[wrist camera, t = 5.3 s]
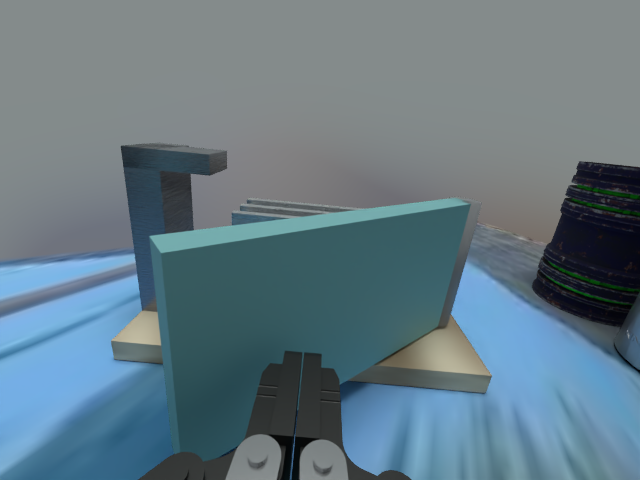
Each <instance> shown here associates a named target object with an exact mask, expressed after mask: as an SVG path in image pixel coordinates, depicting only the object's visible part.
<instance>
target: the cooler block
mask: <svg viewBox="0 0 640 480" xmlns="http://www.w3.org/2000/svg"><path fill="white" fill-rule="evenodd" d="M121 151H122V159H123V167H124V174H125V182H126V190H127V198H128V205H129V213H130V221H131V229H132V236H133V244H134V252H135V260H136V267H137V275H138V283H139V290H140V298H141V306H142V311H152V312H157V303H156V294H155V285H154V275H153V266H152V257H151V248H150V239H149V236H153V235H161V234H169V233H177V232H185V231H193V230H194V229H193V211H192V193H191V175H190V174H200V175H212V174H215V173H217V172H220V171H222V170H225V169H227V151H224V150H214V149H204V148H203V149H202V148H194V147H189V146H186V145H176V144H165V143H150V144H138V145H125V146H121ZM353 210H361V209H359V208H350V207H340V206H339V207H338V206H329V205H319V204H308V203H298V202H288V201H276V200H266V199H257V198H248V199H247V204H241V205H240V211H237V210H235V211H233V212H232V226H233V225H241V224H249V223H257V222H265V221H273V220H281V219H289V218H297V217H305V216H313V215H321V214H329V213H337V212H345V211H353Z"/></svg>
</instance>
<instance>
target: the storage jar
mask: <svg viewBox="0 0 640 480" xmlns="http://www.w3.org/2000/svg"><path fill="white" fill-rule="evenodd" d="M577 170H578V171H577V173H576V175H574V176H573V179H572V183H575V184H578V185H570V186H569V187H568V189H567V193H566V194H565V195H566V196H568V197H570V198H565V199H564V202H563V204H562V207H561V210H560V211H561V213H562V215H561V218H560V220H559V223H558V226H557V228H556V231H555V234H554V236H553V239H552V241H551V243H549V244H547V246H546V249H545V250H544V254H543V255H544V256H543V257H542V258H541V260H540V263H539V265H538V268H539V270H538V271H537V278H536V279H535V280H534V282H533V285H532V288H533V290H534V292H535V293H536V294H537V295H538V296H539V297H541V298H542V299H544V300H545V301H547V302H548V303H550V304H552V305H554V306H555V307H557V308H559V309H562V310H564V311H566V312H568V313H571V314H573V315H576V316H579V317H581V318H584V319H588V320H591V321H594V322H598V323H602V324H607V325H612V326H620V327H622V325H623V323H624V321H625V319H626V317H627V315H628V313H629V311H630V309H631V308H632V306H633V304H634V302H635V300H636V298H637V296H638V294H639V293H640V167H631V166H622V165H613V164H603V163H593V162H581V161H580V162H579V163H578V166H577Z"/></svg>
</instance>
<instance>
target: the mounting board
mask: <svg viewBox="0 0 640 480" xmlns="http://www.w3.org/2000/svg"><path fill="white" fill-rule="evenodd" d="M111 343H112V349H113V355H114V359H116V360H127V361H138V362H149V363H160V364H163V358H162V349H161V340H160V330H159V321H158V312H152V311H141V312H140V313H139V314H138V315H137V316H136V317H135V318H134V319H133V320H132V321H131V322H130V323H129V324H128V325H127V326H126V327H125V328H124V329H123V330H122V331H121V332H120V333H119V334H118V335H117V336H116V337H115V338H113V339H112V340H111ZM491 377H492V375H491V374H490V372H489V371H488V369H487V368H486V366H485V365H484V363H483V362H482V360H481V359H480V357H479V356H478V354H477V353H476V351H475V350H474V348H473V347H472V345H471V344H470V342H469V341H468V339H467V338H466V336H465V335H464V333H463V332H462V330H461V329H460V327H459V326H458V324H457V323H456V321H455V320H454V318H453V317H452V315H450V318H449V322H448V324H447V325H446V326H442V327H440V326H438V327H436V328H434V329H433V330H431V331H429V332H428V333H426V334H424V335H423V336H421V337H419V338H418V339H416V340H414V341H413V342H411V343H409V344H408V345H406V346H404V347H402V348H401V349H399V350H397V351H396V352H394V353H392V354H391V355H389V356H387V357H386V358H384V359H382V360H381V361H379V362H377V363H376V364H374V365H372V366H371V367H369V368H367V369H366V370H364V371H362V372H361V373H359V374H357V375H356V376H354V377H352V378H351V379H349V380H347V381H357V382H368V383H379V384H390V385H401V386H412V387H423V388H434V389H444V390H455V391H466V392H477V393H486V391H487V388H488V385H489V383H490V380H491Z"/></svg>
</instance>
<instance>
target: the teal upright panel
mask: <svg viewBox="0 0 640 480" xmlns="http://www.w3.org/2000/svg"><path fill="white" fill-rule="evenodd" d="M481 205H482V202H480V201H477V200H473V199H468V198H462V197H449V199H442V200H434V201H425V202H417V203H409V204H401V205H393V206H385V207H377V208H370V209H361V210H353V211H345V212H337V213H329V214H321V215H313V216H305V217H297V218H289V219H281V220H273V221H265V222H257V223H249V224H241V225H233V226H225V227H217V228H209V229H201V230H193V231H185V232H177V233H169V234H161V235H153V236H149V239H150V248H151V257H152V266H153V275H154V285H155V294H156V303H157V312H158V321H159V330H160V340H161V349H162V358H163V367H164V376H165V385H166V395H167V404H168V413H169V422H170V431H171V440H172V448H173V451H174V454H176V453H180V452H192V453H195V454H197V455H198V456H199V457H200V458H201V459H202V461H203V462H204V461H208V460H212V459H216V458H218V457H220V456H222V455H223V454H225V453H227V452H228V451H230V450H232V449H233V448H235V447H237V446H238V445H240V444H241V442H242V441H243V439H244V437H245V435H246V432H247V428H248V424H249V421H250V417H251V413H252V409H253V405H254V402H255V398H256V395H257V390H258V387H259V383H260V379H261V375H262V372H263V371H264V370H265V369H266V367H267V366H268V365H269V364H270V363H276V364H282V363H283V358H284V352H285V351H296V352H303V353H302V365H301V376H300V387H301V377H302V368H303V358H304V352H308V353H319V354H322V363H321V367H322V368H333V369H334V370H335V372H336V374H337V376H338V378H339V381H340V384H342V383H344V382H346V381H347V380H349V379H351V378H352V377H354V376H356V375H357V374H359V373H361V372H362V371H364V370H366V369H367V368H369V367H371V366H372V365H374V364H376V363H377V362H379V361H381V360H382V359H384V358H386V357H387V356H389V355H391V354H392V353H394V352H396V351H397V350H399V349H401V348H402V347H404V346H406V345H408V344H409V343H411V342H413V341H414V340H416V339H418V338H419V337H421V336H423V335H424V334H426V333H428V332H429V331H431V330H433V329H434V328H436V327H438V326H440V327H442V326H446V325H447V324H448V322H449V318H450V315H451V311H452V308H453V304H454V301H455V297H456V294H457V290H458V287H459V283H460V279H461V276H462V272H463V269H464V265H465V262H466V258H467V255H468V251H469V248H470V244H471V241H472V237H473V234H474V230H475V227H476V223H477V220H478V216H479V213H480V209H481ZM300 387H299V397H300ZM299 397H298V406H299ZM298 406H297V410H298Z"/></svg>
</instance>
